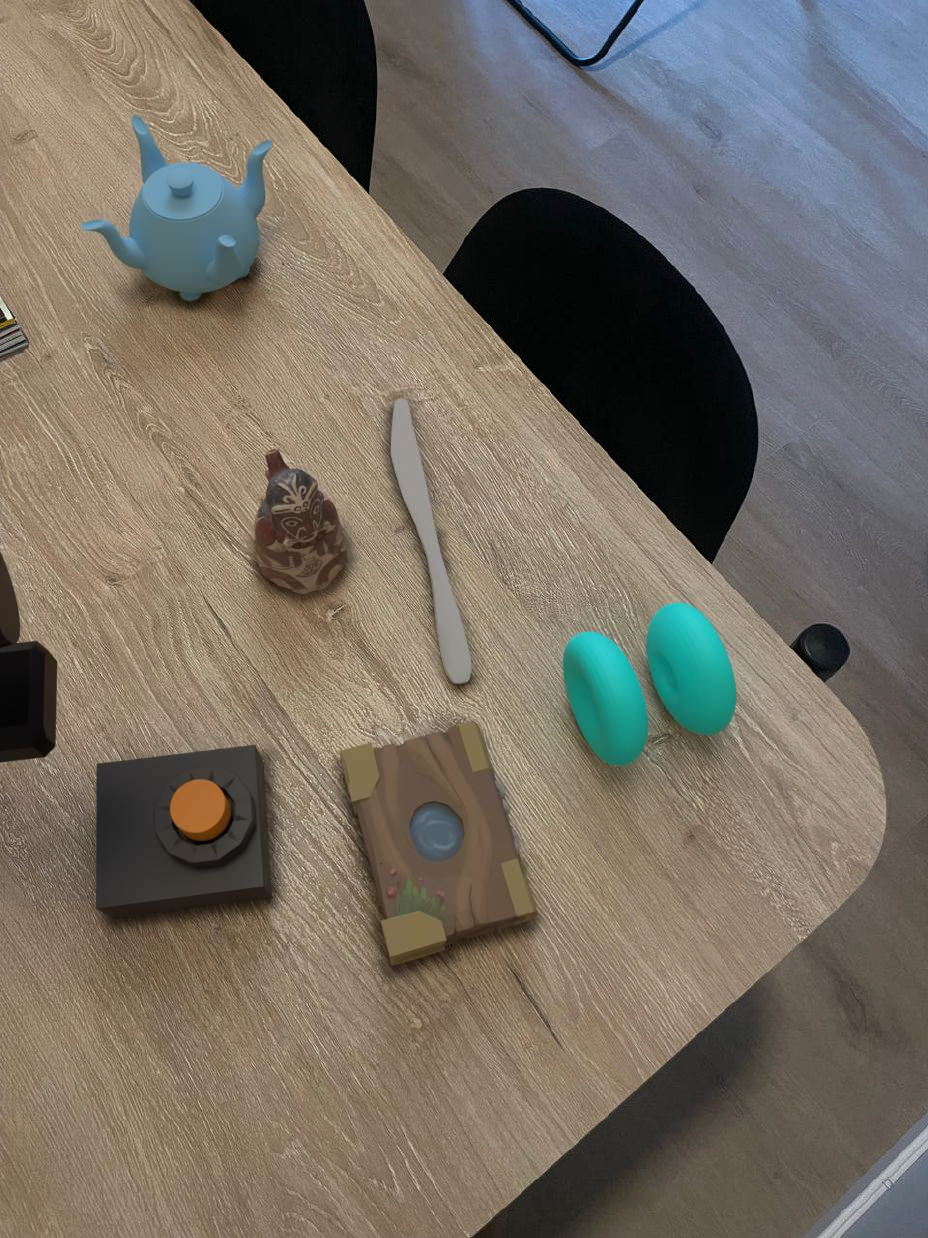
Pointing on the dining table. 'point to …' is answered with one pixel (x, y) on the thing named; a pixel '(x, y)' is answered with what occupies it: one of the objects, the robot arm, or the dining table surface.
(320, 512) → the figurine
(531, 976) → the dining table surface
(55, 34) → the dining table surface
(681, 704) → the donuts
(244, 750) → the black button base
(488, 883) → the book
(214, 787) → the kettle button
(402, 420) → the butter knife
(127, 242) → the teapot
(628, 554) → the dining table surface
